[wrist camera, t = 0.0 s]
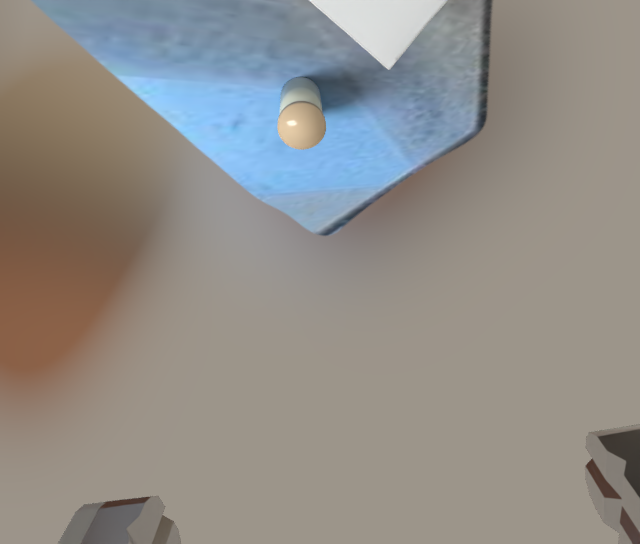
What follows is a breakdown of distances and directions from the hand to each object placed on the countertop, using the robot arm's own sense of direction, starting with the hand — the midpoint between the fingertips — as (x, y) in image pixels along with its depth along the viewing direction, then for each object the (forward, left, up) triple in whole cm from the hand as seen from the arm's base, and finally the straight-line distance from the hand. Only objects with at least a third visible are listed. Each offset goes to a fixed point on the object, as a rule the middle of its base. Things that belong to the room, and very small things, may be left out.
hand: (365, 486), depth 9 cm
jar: (+13, +6, -52) cm, 54 cm away
